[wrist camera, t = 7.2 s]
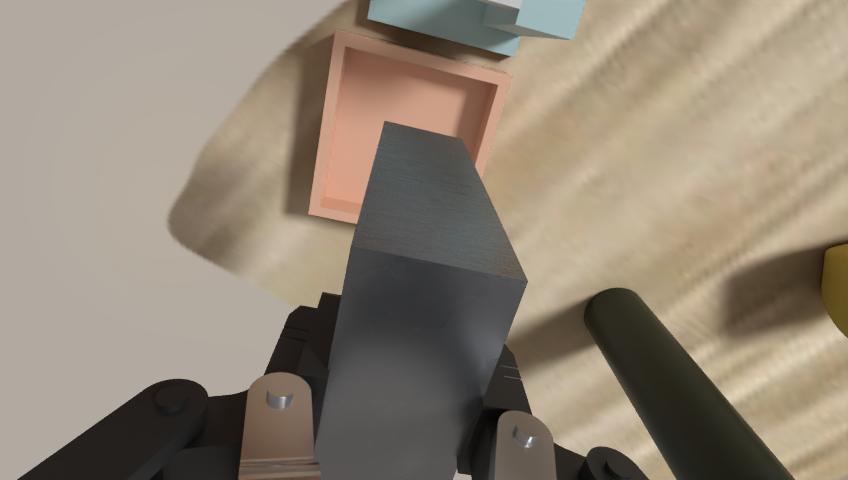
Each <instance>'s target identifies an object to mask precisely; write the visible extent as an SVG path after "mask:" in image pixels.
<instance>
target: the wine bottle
mask: <svg viewBox="0 0 848 480" xmlns="http://www.w3.org/2000/svg"><path fill="white" fill-rule="evenodd" d="M584 321H585V325H586V327H587V329H588V330H589V332H590V334H591V335H592V337H593V339H594V340H595V342H596V344H597V345H598V347H599V349H600V351H601V352H602V354H603V356H604V357H605V359H606V361H607V362H608V364H609V366H610V368H611V369H612V371H613V373H614V374H615V376H616V378H617V379H618V381H619V383H620V384H621V386H622V388H623V390H624V391H625V393H626V395H627V396H628V398H629V400H630V401H631V403H632V405H633V407H634V408H635V410H636V412H637V413H638V415H639V417H640V418H641V420H642V422H643V423H644V425H645V427H646V429H647V430H648V432H649V434H650V435H651V437H652V439H653V440H654V442H655V444H656V446H657V447H658V449H659V451H660V452H661V454H662V456H663V457H664V459H665V461H666V462H667V464H668V466H669V468H670V469H671V471H672V473H673V474H674V476H675V478H676V479H677V480H795V479H794V478H793V476H792V475H791V474H790V473H789V472H788V471H787V469H786V468H785V467H784V466H783V465H782V464H781V462H780V461H779V460H778V459H777V458H776V456H775V455H774V454H773V453H772V452H771V451H770V449H769V448H768V447H767V446H766V445H765V444H764V442H763V441H762V440H761V439H760V438H759V436H758V435H757V434H756V433H755V432H754V431H753V429H752V428H751V427H750V426H749V425H748V424H747V422H746V421H745V420H744V419H743V418H742V417H741V415H740V414H739V413H738V412H737V411H736V409H735V408H734V407H733V406H732V405H731V404H730V402H729V401H728V400H727V399H726V398H725V397H724V395H723V394H722V393H721V392H720V391H719V390H718V388H717V387H716V386H715V385H714V384H713V382H712V381H711V380H710V379H709V378H708V377H707V375H706V374H705V373H704V372H703V371H702V370H701V368H700V367H699V366H698V365H697V364H696V362H695V361H694V360H693V359H692V358H691V357H690V355H689V354H688V353H687V352H686V351H685V350H684V348H683V347H682V346H681V345H680V344H679V343H678V341H677V340H676V339H675V338H674V337H673V335H672V334H671V333H670V332H669V331H668V330H667V328H666V327H665V326H664V325H663V324H662V323H661V321H660V320H659V319H658V318H657V317H656V316H655V314H654V313H653V312H652V311H651V310H650V308H649V307H648V306H647V305H646V304H645V303H644V301H643V300H642V299H641V298H640V297H639V296H638V295H637V294H636V293H635V292H633V291H631V290H629V289H625V288H613V289H609V290H606V291H603V292H601V293H600V294H598V295H597V296H595V297H594V298H593V299H592V300H591V301H590V303H589V304H588V306H587V307H586V310H585V314H584Z"/></svg>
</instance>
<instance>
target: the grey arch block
mask: <svg viewBox="0 0 848 480" xmlns="http://www.w3.org/2000/svg"><path fill="white" fill-rule="evenodd" d="M527 282H528V280H527V278H526V276H525V274H524V272H523V269H522V267H521V265H520V263H519V261H518V259H517V256H516V254H515V252H514V250H513V248H512V246H511V243H510V241H509V239H508V237H507V235H506V233H505V230H504V228H503V226H502V224H501V222H500V220H499V217H498V215H497V213H496V211H495V209H494V207H493V204H492V202H491V200H490V198H489V196H488V194H487V191H486V189H485V187H484V185H483V183H482V181H481V178H480V176H479V174H478V172H477V170H476V168H475V165H474V163H473V161H472V159H471V157H470V154H469V152H468V150H467V148H466V146H465V144H464V141H463V139H461V138H457V137H452V136H448V135H444V134H440V133H435V132H431V131H427V130H423V129H418V128H414V127H410V126H406V125H401V124H397V123H393V122H389V121H384V125H383V129H382V132H381V136H380V140H379V144H378V147H377V151H376V155H375V158H374V162H373V166H372V170H371V173H370V177H369V181H368V185H367V188H366V192H365V196H364V199H363V203H362V207H361V211H360V214H359V218H358V222H357V226H356V229H355V233H354V237H353V240H352V244H351V249H350V254H349V259H348V264H347V269H346V275H345V280H344V285H343V290H342V295H341V301H340V306H339V311H338V316H337V321H336V326H335V332H334V337H333V342H332V347H331V352H330V358H329V363H328V368H327V370H330V372H329V378H328V383H327V388H326V393H325V398H324V403H323V408H322V413H321V418H320V423H319V429H318V434H317V439H316V444H315V448H314V457H315V462H319V464H320V470H321V480H453V477H454V475H455V472H456V469H457V460H458V458H459V455H460V452H461V450H462V447H463V444H464V442H465V439H466V436H467V434H468V431H469V428H470V426H471V423H472V420H473V418H474V415H475V412H476V410H477V407H478V404H479V402H480V399H481V397H482V396H485V393H486V390H487V388H488V385H489V383H490V380H491V377H492V375H493V372H494V369H495V367H496V364H497V362H498V359H499V356H500V354H501V351H502V348H503V346H504V343H505V340H506V338H507V335H508V333H509V330H510V327H511V325H512V322H513V319H514V317H515V314H516V311H517V309H518V306H519V304H520V301H521V298H522V296H523V293H524V290H525V288H526V285H527Z"/></svg>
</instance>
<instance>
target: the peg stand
mask: <svg viewBox="0 0 848 480" xmlns="http://www.w3.org/2000/svg"><path fill="white" fill-rule="evenodd" d="M585 3H586V0H370V6H369V12H368V18H367V19H370V20H374V21H378V22H381V23H385V24H389V25H393V26H397V27H401V28H404V29H408V30H412V31H416V32H420V33H424V34H427V35H431V36H435V37H439V38H443V39H446V40H450V41H454V42H458V43H462V44H466V45H469V46H473V47H477V48H481V49H485V50H489V51H492V52H496V53H500V54H504V55H508V56H511V57H515V54H516V50H517V47H518V44H519V40H520V37H521V36H530V37H542V38H554V39H565V40H573V38H574V35H575V32H576V29H577V27H578V24H579V21H580V18H581V15H582V12H583V9H584V6H585Z"/></svg>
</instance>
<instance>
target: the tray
mask: <svg viewBox="0 0 848 480" xmlns="http://www.w3.org/2000/svg"><path fill="white" fill-rule="evenodd" d="M511 80H512V76H511V75H509V74H507V73H505V72H502V71H498V70H495V69H491V68H487V67H483V66H479V65H475V64H471V63H467V62H463V61H459V60H456V59H452V58H448V57H444V56H440V55H436V54H432V53H428V52H424V51H421V50H417V49H413V48H409V47H405V46H401V45H397V44H393V43H389V42H385V41H382V40H378V39H374V38H370V37H366V36H362V35H358V34H354V33H350V32H347V31H343V30H337V31H335V35H334V42H333V49H332V55H331V62H330V69H329V76H328V83H327V90H326V97H325V103H324V110H323V117H322V124H321V131H320V138H319V144H318V151H317V158H316V165H315V172H314V179H313V185H312V192H311V199H310V206H309V213H308V214H310V215H315V216H320V217H325V218H330V219H335V220H339V221H344V222H349V223H354V224H357V222H358V218H359V214H360V211H361V207H362V203H363V199H364V196H365V192H366V188H367V185H368V181H369V177H370V173H371V170H372V166H373V162H374V158H375V155H376V151H377V147H378V144H379V140H380V136H381V132H382V129H383V125H384V121H389V122H393V123H397V124H401V125H406V126H410V127H414V128H418V129H423V130H427V131H431V132H435V133H440V134H444V135H448V136H452V137H457V138H461V139H463V141H464V144H465V146H466V148H467V150H468V152H469V154H470V157H471V159H472V161H473V163H474V165H475V168H476V170H477V172H478V174H479V176H480V178H481V179H482V176H483V173H484V170H485V166H486V163H487V160H488V156H489V153H490V150H491V146H492V143H493V140H494V136H495V133H496V130H497V126H498V123H499V120H500V116H501V113H502V110H503V106H504V103H505V100H506V96H507V93H508V90H509V86H510V83H511Z"/></svg>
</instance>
